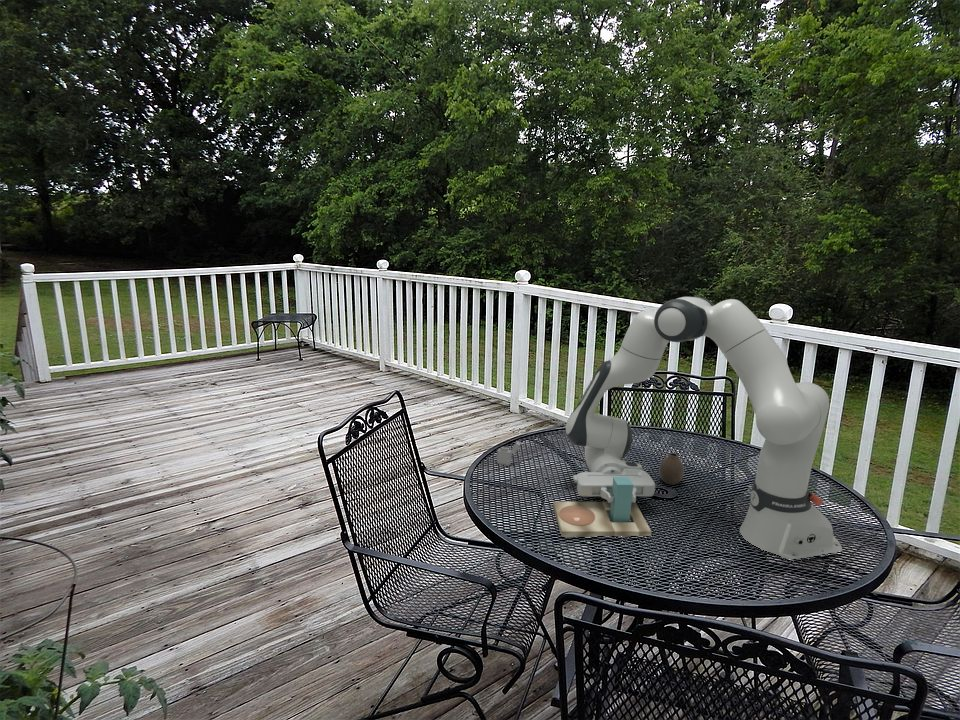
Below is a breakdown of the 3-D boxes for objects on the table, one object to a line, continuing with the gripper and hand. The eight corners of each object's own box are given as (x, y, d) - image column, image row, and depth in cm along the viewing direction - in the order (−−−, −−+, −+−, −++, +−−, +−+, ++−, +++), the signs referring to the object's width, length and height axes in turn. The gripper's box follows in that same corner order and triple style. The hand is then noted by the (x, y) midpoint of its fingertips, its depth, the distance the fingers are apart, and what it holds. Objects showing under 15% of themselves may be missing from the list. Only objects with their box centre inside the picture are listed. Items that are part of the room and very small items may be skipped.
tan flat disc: (590, 506, 150) (590, 505, 150) (598, 525, 142) (598, 524, 141) (556, 506, 150) (556, 505, 150) (562, 525, 141) (562, 524, 141)
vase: (677, 489, 164) (681, 461, 161) (654, 482, 168) (657, 455, 165) (685, 480, 169) (689, 453, 166) (662, 473, 173) (666, 447, 170)
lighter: (496, 463, 178) (497, 439, 175) (498, 460, 179) (499, 437, 177) (519, 466, 176) (519, 443, 173) (520, 464, 177) (521, 440, 175)
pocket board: (634, 508, 153) (635, 501, 153) (650, 538, 140) (651, 531, 139) (553, 508, 153) (553, 501, 152) (561, 538, 139) (562, 531, 139)
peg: (624, 518, 149) (628, 477, 145) (628, 527, 145) (633, 484, 141) (609, 518, 148) (613, 477, 145) (613, 527, 145) (617, 484, 141)
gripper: (572, 463, 156) (582, 489, 143) (646, 463, 156) (663, 489, 143) (570, 484, 158) (580, 511, 144) (644, 484, 158) (660, 511, 145)
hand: (622, 500), depth 144 cm, fingers closed on peg, 4 cm apart
